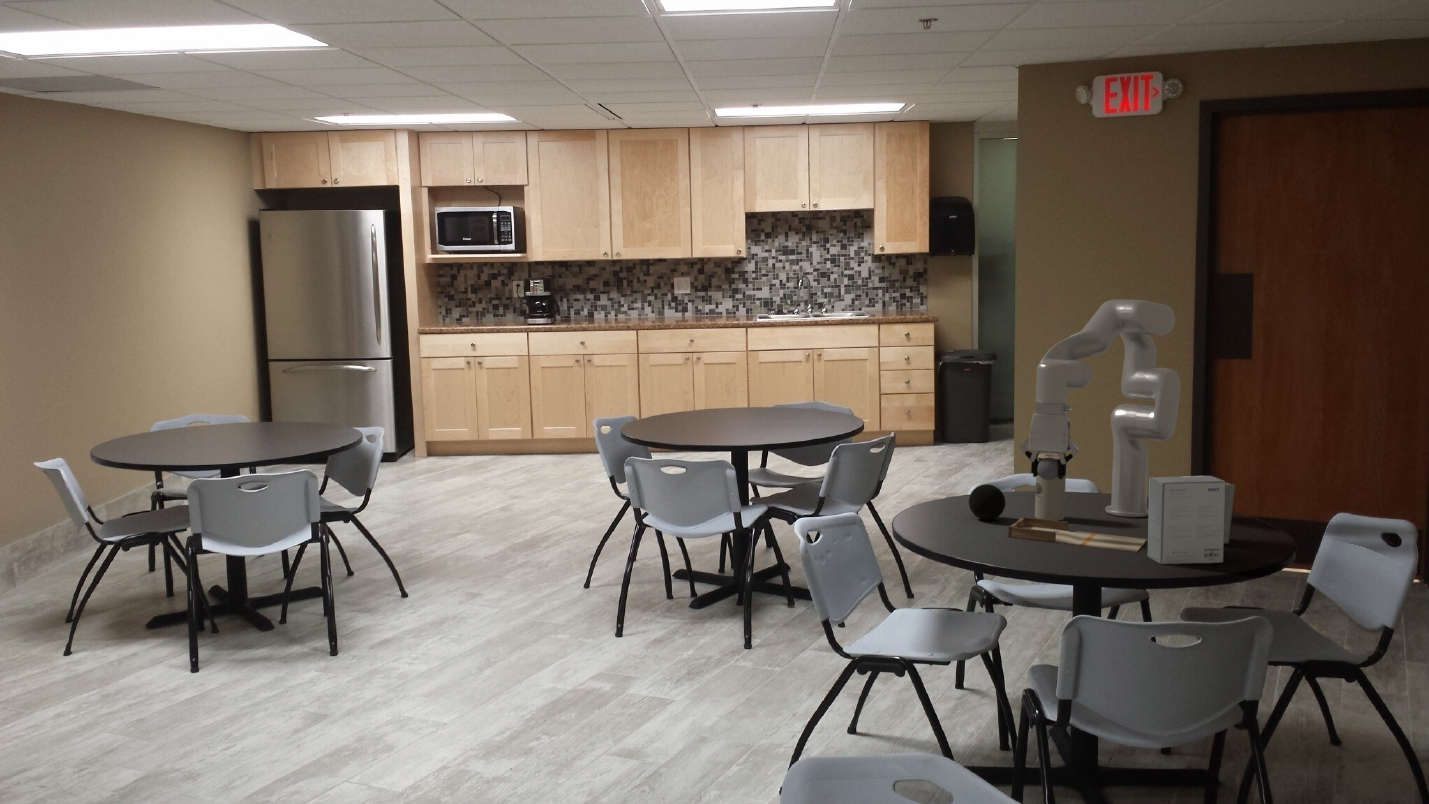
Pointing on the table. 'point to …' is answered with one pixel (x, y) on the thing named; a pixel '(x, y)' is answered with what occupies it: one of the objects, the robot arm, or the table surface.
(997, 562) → the table surface
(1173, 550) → the hard drive box
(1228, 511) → the skincare box
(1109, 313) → the robot arm
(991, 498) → the decorative ball
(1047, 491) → the travel mug
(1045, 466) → the rubber ball
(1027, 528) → the mat
